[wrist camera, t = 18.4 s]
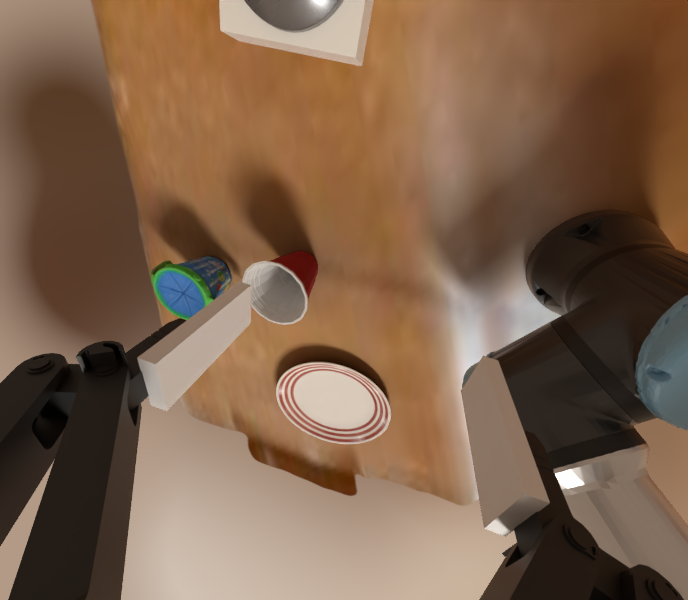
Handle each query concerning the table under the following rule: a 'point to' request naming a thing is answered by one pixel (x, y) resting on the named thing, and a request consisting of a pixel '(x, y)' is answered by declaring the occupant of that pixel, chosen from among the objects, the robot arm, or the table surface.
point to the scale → (323, 41)
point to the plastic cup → (282, 286)
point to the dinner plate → (333, 402)
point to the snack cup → (190, 284)
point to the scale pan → (294, 13)
